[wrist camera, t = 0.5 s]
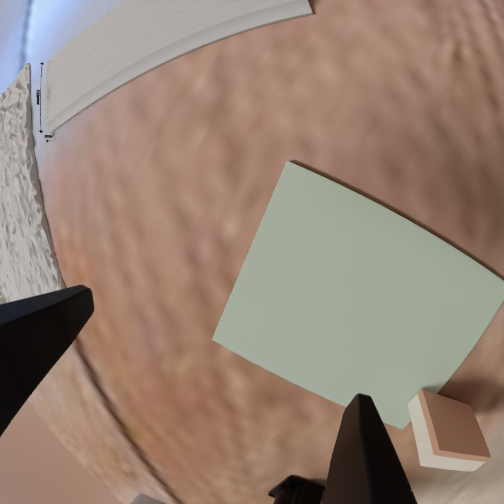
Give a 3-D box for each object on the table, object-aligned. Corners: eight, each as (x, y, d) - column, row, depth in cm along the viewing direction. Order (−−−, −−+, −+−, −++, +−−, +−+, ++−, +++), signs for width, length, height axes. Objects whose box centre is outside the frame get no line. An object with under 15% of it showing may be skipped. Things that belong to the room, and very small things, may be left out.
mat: (402, 425, 22) (402, 429, 21) (214, 337, 26) (211, 339, 25) (508, 284, 17) (511, 286, 16) (288, 161, 20) (286, 160, 20)
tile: (456, 418, 20) (474, 471, 13) (407, 404, 21) (420, 465, 14) (470, 404, 19) (491, 457, 13) (421, 388, 20) (439, 449, 13)
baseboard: (319, 32, 18) (282, -54, 16) (314, 14, 15) (274, -72, 13) (55, 144, 28) (54, 65, 26) (37, 144, 26) (38, 61, 24)
